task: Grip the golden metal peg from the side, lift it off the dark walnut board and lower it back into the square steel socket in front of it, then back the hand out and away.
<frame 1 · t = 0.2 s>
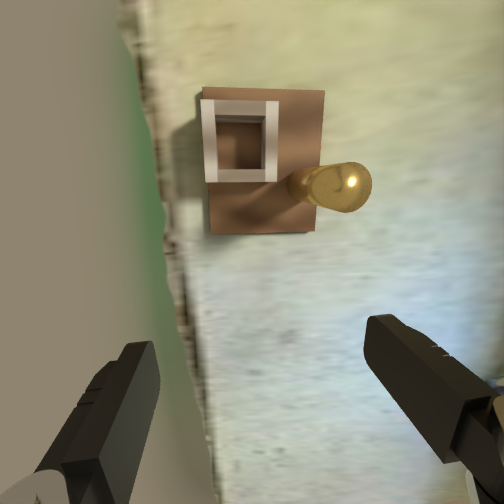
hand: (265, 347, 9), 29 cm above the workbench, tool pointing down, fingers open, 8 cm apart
socket block: (238, 148, 33), on the workbench
golden metal peg: (301, 184, 35), point 1 cm above the workbench, touching socket block
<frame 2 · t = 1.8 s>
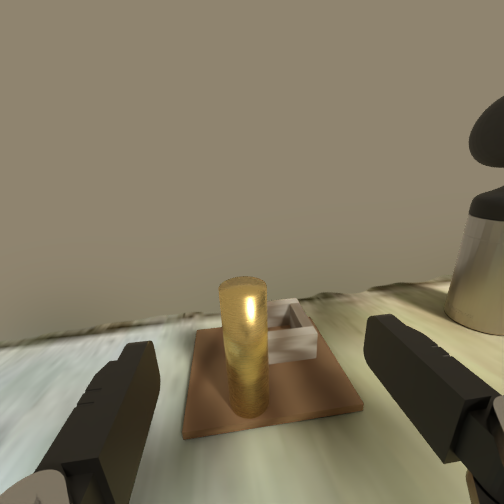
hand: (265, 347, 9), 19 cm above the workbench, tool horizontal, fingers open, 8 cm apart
socket block: (275, 345, 36), on the workbench
golden metal peg: (249, 399, 26), point 1 cm above the workbench, touching socket block
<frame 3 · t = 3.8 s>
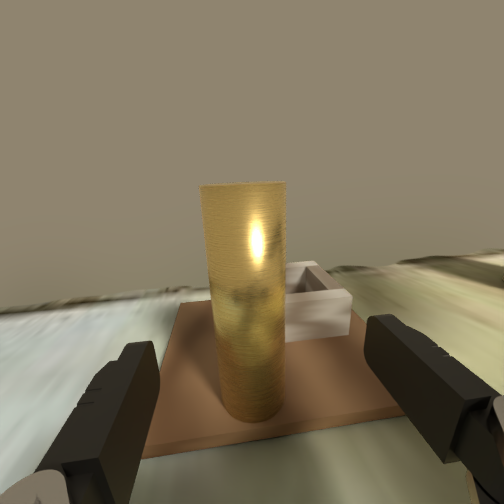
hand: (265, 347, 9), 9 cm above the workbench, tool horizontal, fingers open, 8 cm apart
socket block: (287, 320, 26), on the workbench
golden metal peg: (253, 391, 17), point 1 cm above the workbench, touching socket block
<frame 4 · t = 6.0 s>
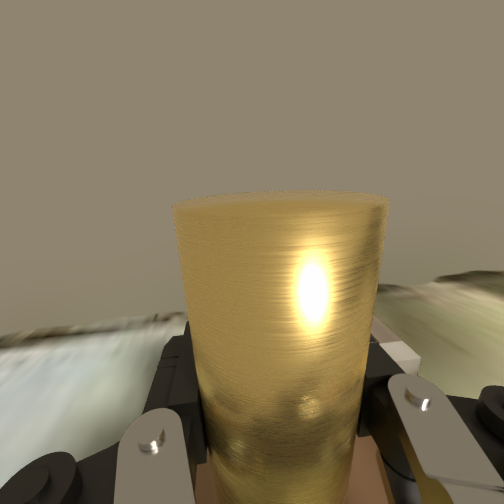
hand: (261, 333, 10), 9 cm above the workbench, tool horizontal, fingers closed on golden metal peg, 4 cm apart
socket block: (313, 373, 19), on the workbench
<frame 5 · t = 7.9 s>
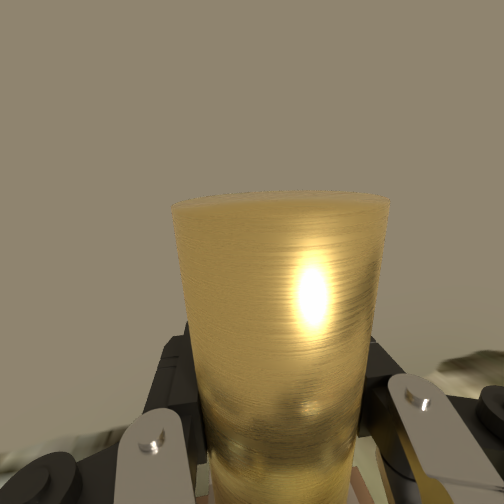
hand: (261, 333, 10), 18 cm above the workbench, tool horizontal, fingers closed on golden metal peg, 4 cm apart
when the fingers open (11 cm above the workbench, at t = 10.1 s): golden metal peg drops 2 cm, resting on socket block.
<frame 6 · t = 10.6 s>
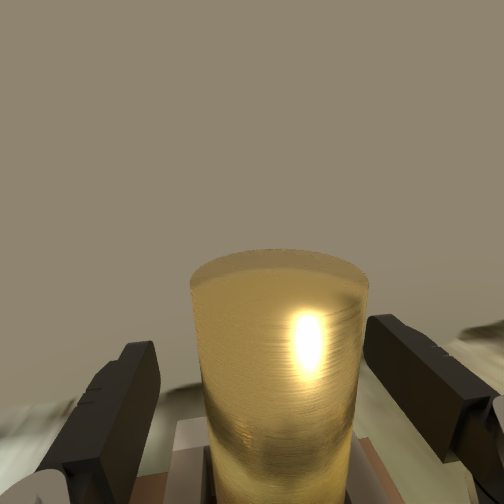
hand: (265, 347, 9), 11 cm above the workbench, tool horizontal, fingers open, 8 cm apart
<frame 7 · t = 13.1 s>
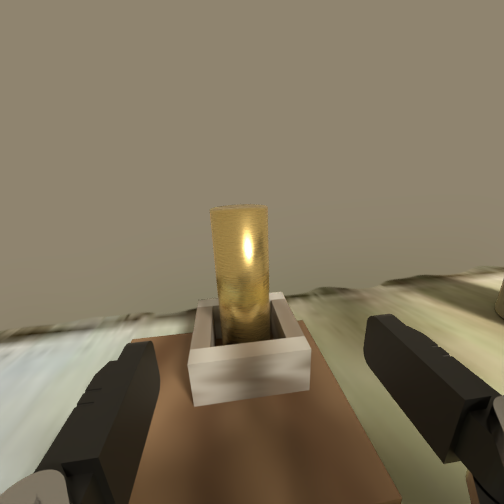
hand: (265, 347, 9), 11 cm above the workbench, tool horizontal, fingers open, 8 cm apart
socket block: (247, 364, 23), on the workbench
golden metal peg: (247, 356, 22), point 1 cm above the workbench, touching socket block
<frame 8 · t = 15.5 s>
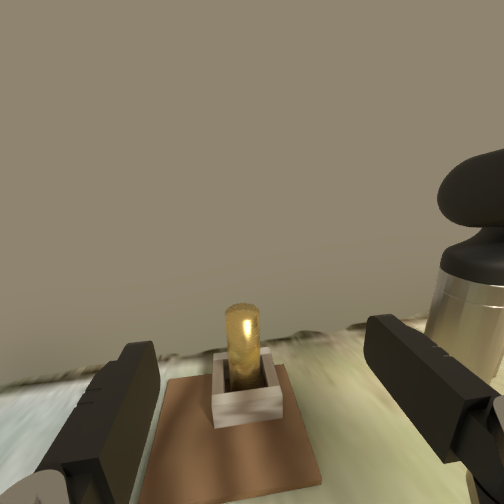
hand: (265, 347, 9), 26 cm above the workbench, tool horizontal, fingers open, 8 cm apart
socket block: (245, 398, 36), on the workbench
golden metal peg: (245, 393, 35), point 1 cm above the workbench, touching socket block
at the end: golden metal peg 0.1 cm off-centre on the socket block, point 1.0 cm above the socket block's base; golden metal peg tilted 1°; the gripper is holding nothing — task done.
